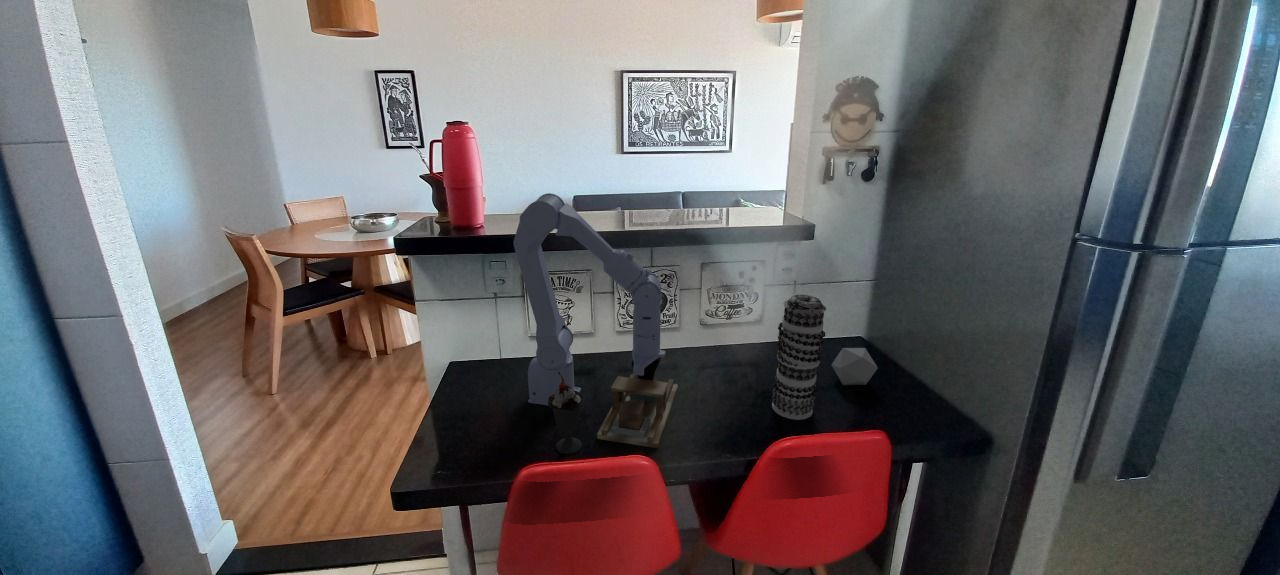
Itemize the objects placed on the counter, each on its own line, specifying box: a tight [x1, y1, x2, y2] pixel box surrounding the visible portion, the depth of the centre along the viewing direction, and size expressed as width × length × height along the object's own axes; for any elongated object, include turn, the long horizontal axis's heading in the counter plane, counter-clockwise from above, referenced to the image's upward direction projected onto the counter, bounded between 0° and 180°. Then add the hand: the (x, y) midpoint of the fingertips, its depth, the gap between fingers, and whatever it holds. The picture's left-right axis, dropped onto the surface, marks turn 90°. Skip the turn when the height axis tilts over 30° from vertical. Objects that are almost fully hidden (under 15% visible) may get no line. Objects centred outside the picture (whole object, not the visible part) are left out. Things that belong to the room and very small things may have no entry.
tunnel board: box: [596, 373, 679, 449], centre depth 105 cm, size 12×22×7 cm, turn 166°
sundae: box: [547, 372, 586, 455], centre depth 92 cm, size 7×7×15 cm
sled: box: [612, 377, 656, 438], centre depth 102 cm, size 6×14×5 cm, turn 166°
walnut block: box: [619, 401, 644, 431], centre depth 98 cm, size 4×4×4 cm
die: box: [831, 347, 879, 386], centre depth 116 cm, size 8×9×10 cm
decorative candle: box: [771, 294, 827, 421], centre depth 103 cm, size 9×9×25 cm
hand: (646, 388), depth 109 cm, fingers closed
